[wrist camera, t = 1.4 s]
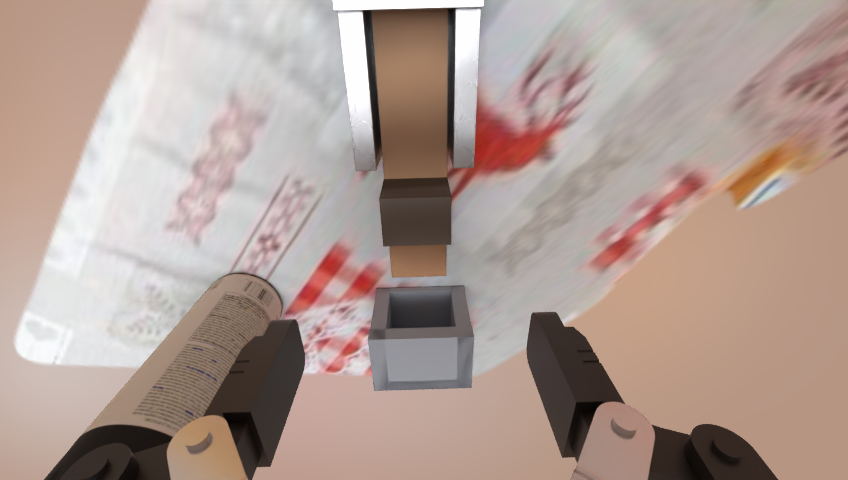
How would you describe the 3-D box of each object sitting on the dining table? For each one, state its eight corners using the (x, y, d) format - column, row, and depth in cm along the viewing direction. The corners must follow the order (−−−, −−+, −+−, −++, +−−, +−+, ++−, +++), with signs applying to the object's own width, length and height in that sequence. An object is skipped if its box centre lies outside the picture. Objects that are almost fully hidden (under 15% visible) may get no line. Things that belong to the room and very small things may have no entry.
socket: (463, 285, 33) (474, 336, 27) (462, 331, 36) (471, 387, 30) (376, 288, 33) (367, 340, 27) (381, 334, 36) (374, 390, 30)
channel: (349, -57, 22) (320, -103, 15) (466, -60, 22) (488, -108, 15) (368, 145, 27) (353, 176, 21) (461, 142, 27) (476, 172, 21)
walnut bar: (373, -52, 21) (353, -98, 14) (442, -54, 21) (455, -101, 14) (394, 250, 30) (388, 307, 24) (442, 249, 30) (450, 305, 24)
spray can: (199, 272, 32) (-65, 544, 15) (275, 268, 32) (103, 535, 15) (223, 330, 35) (28, 612, 18) (292, 326, 35) (167, 606, 18)
